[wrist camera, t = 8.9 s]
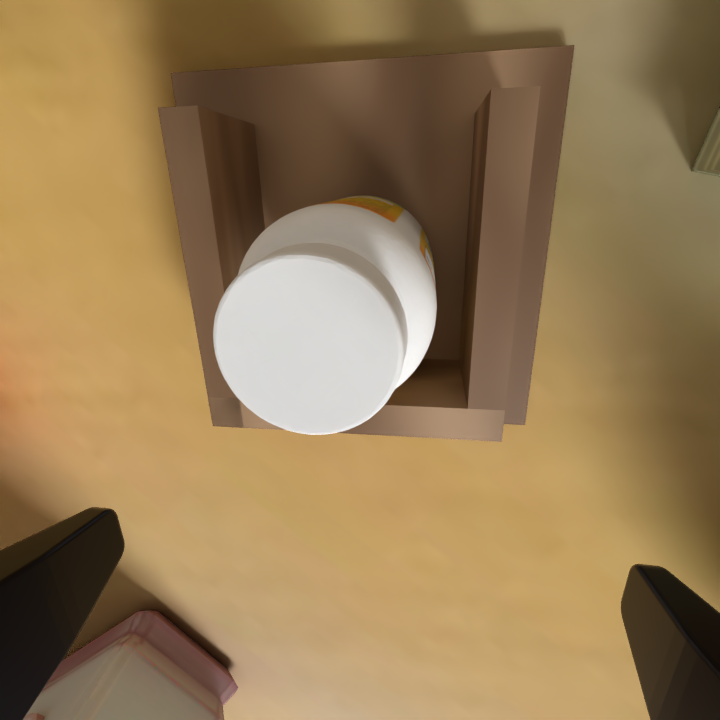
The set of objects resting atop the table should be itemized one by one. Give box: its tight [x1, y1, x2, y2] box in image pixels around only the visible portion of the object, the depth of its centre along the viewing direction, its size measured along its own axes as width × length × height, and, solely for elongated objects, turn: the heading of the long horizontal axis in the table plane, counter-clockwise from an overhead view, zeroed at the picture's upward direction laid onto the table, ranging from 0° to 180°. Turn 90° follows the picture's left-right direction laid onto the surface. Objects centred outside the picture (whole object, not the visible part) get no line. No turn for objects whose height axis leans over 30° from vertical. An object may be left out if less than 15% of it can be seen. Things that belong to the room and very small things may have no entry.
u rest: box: [158, 45, 574, 442], centre depth 16 cm, size 14×14×5 cm
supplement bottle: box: [213, 196, 437, 435], centre depth 13 cm, size 5×5×10 cm
